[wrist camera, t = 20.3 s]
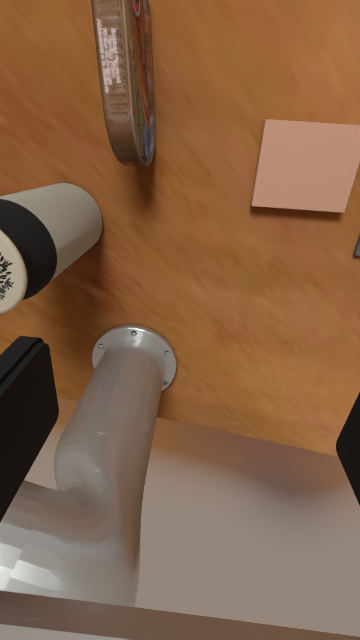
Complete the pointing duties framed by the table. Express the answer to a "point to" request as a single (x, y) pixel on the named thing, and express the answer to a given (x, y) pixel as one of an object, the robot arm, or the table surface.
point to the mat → (357, 248)
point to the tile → (306, 165)
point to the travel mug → (43, 237)
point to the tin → (126, 77)
